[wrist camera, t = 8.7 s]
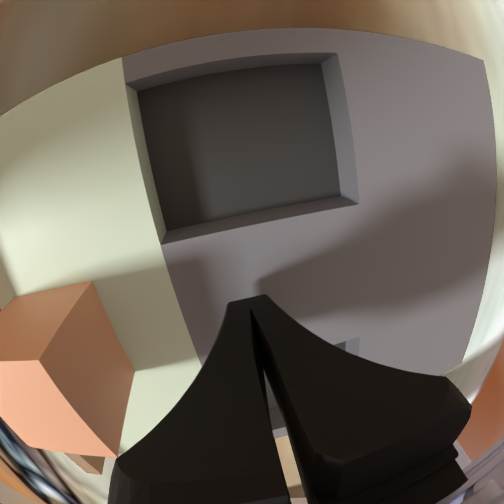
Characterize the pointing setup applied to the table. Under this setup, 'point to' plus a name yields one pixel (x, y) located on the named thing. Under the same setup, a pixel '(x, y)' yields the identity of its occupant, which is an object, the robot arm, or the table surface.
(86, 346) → the block
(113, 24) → the table surface
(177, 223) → the platform
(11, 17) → the table surface
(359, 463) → the robot arm
